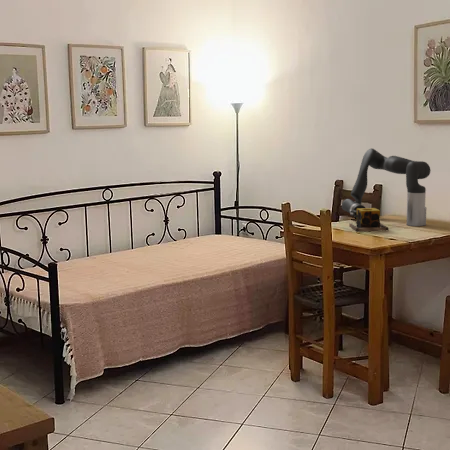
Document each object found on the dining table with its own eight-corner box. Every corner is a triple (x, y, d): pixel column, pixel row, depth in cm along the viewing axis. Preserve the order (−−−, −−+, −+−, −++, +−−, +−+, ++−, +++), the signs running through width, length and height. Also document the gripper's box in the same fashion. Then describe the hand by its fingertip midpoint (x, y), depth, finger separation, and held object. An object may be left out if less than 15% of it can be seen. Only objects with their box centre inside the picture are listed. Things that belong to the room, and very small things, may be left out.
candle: (380, 229, 354) (380, 210, 352) (360, 230, 353) (360, 210, 352) (375, 226, 364) (375, 207, 362) (355, 227, 363) (356, 208, 362)
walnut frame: (380, 225, 366) (380, 222, 366) (388, 230, 351) (388, 227, 351) (349, 226, 365) (349, 223, 365) (356, 231, 350) (356, 228, 350)
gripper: (346, 204, 379) (353, 208, 362) (370, 203, 379) (378, 207, 362) (345, 217, 380) (353, 222, 363) (370, 217, 380) (378, 222, 363)
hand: (366, 215), depth 363 cm, fingers closed
